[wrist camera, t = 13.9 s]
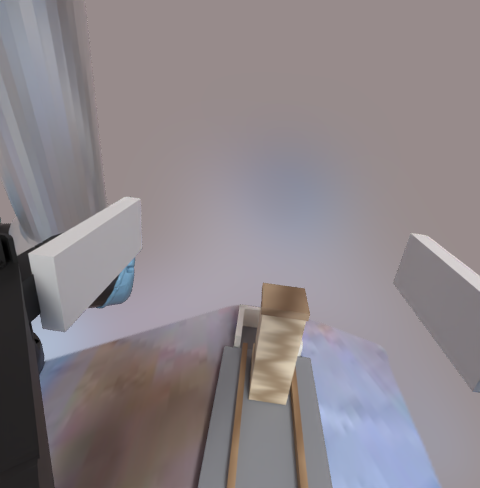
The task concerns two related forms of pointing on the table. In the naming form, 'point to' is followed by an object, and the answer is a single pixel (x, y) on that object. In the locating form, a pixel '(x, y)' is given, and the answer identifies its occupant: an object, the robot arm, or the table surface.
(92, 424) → the table surface
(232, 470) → the lane rails
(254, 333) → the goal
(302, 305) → the tan tall block
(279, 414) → the platform
